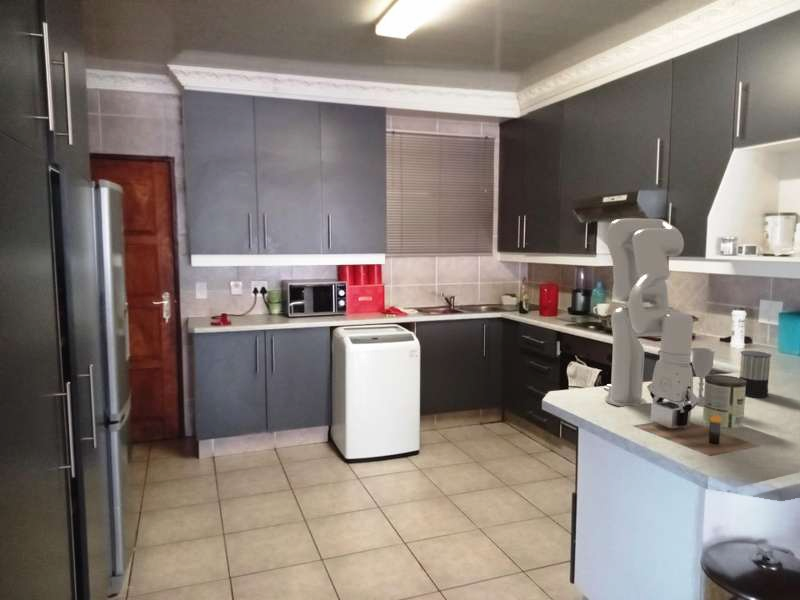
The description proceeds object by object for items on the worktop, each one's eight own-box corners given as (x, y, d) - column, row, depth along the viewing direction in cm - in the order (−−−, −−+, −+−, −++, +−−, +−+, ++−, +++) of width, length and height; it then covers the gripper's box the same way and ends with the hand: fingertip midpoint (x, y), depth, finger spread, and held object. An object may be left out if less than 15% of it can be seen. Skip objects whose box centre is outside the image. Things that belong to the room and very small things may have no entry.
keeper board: (632, 430, 156) (632, 425, 155) (678, 423, 163) (678, 418, 163) (710, 462, 134) (710, 455, 134) (759, 451, 141) (760, 445, 141)
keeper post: (705, 441, 143) (707, 413, 143) (712, 440, 144) (714, 412, 144) (715, 445, 141) (717, 416, 140) (722, 443, 142) (724, 415, 141)
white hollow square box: (650, 420, 157) (651, 403, 156) (668, 417, 160) (669, 400, 159) (671, 428, 151) (672, 410, 150) (689, 425, 153) (691, 407, 153)
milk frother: (773, 399, 190) (776, 356, 189) (722, 396, 193) (725, 353, 192) (756, 388, 204) (759, 348, 203) (708, 386, 207) (711, 346, 206)
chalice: (698, 407, 179) (702, 352, 177) (682, 401, 186) (686, 348, 184) (717, 406, 181) (721, 351, 179) (700, 400, 188) (704, 347, 186)
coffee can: (706, 419, 167) (709, 372, 166) (746, 426, 160) (750, 378, 159) (697, 427, 160) (700, 378, 158) (738, 435, 153) (742, 385, 151)
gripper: (639, 352, 159) (635, 413, 161) (693, 366, 143) (687, 433, 146) (658, 350, 162) (654, 410, 164) (713, 364, 146) (707, 429, 149)
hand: (670, 420), depth 155 cm, fingers closed on white hollow square box, 7 cm apart
